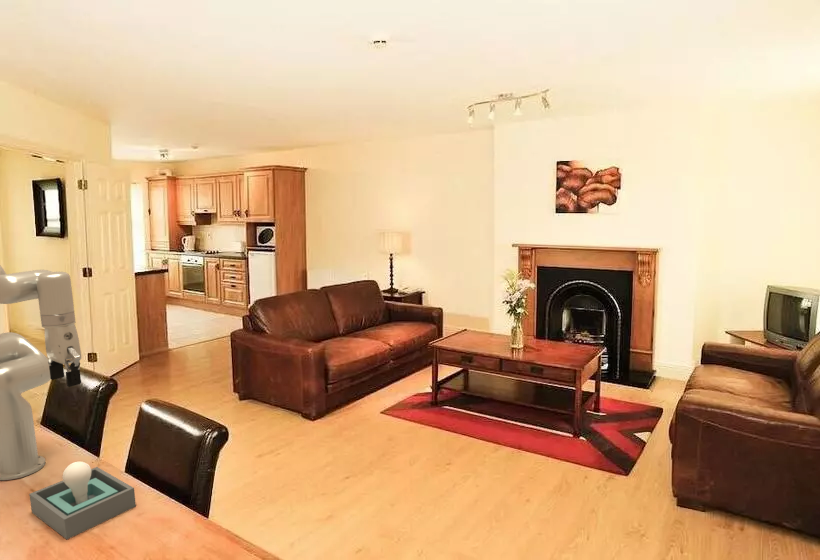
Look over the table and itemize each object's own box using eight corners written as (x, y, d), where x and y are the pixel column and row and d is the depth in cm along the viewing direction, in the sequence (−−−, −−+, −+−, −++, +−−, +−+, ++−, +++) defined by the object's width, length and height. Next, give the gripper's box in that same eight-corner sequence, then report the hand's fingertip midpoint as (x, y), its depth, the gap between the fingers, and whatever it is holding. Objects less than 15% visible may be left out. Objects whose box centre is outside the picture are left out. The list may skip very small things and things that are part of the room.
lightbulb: (102, 497, 138) (95, 457, 137) (83, 511, 132) (76, 469, 131) (81, 497, 139) (74, 456, 138) (62, 510, 133) (54, 468, 132)
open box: (135, 506, 136) (134, 487, 136) (66, 539, 124) (64, 519, 123) (98, 484, 147) (96, 466, 146) (31, 512, 134) (29, 493, 134)
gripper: (89, 320, 140) (96, 383, 143) (59, 312, 150) (66, 372, 153) (57, 326, 134) (65, 392, 137) (28, 318, 144) (36, 379, 147)
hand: (65, 381), depth 145 cm, fingers open, 9 cm apart
